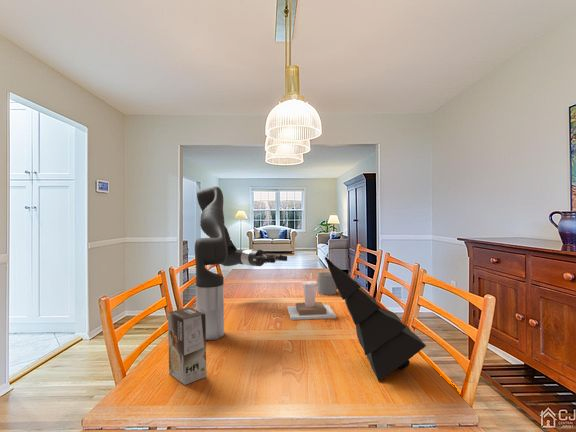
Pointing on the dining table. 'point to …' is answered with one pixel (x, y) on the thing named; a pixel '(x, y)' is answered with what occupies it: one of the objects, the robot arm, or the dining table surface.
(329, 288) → the coffee mug
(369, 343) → the decorative tree
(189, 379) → the coffee box
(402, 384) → the dining table surface
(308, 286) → the smoothie
